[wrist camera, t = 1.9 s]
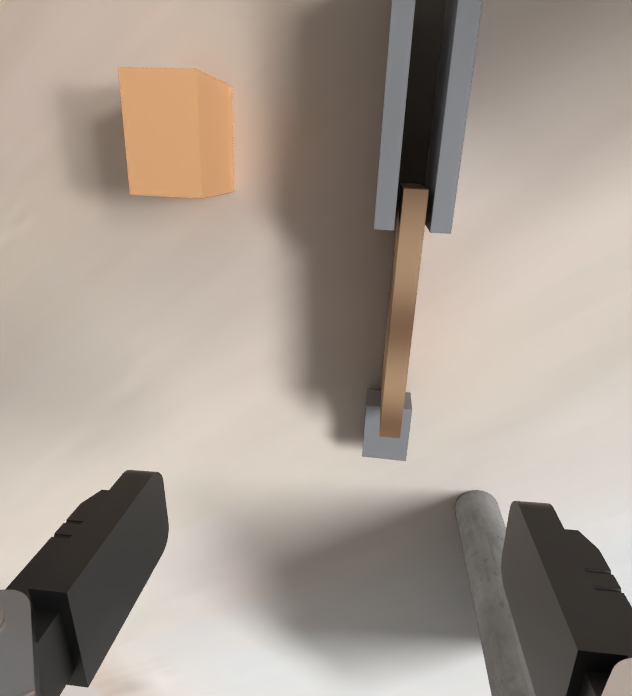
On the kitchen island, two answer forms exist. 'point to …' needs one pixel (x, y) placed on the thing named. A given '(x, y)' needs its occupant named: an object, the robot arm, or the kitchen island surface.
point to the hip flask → (491, 593)
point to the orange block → (177, 132)
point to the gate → (402, 305)
